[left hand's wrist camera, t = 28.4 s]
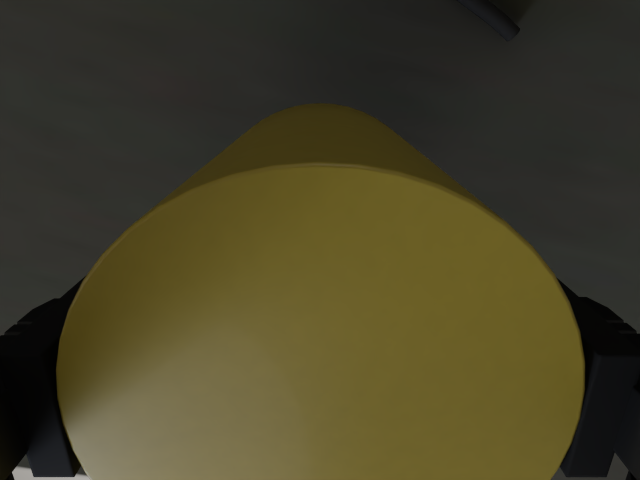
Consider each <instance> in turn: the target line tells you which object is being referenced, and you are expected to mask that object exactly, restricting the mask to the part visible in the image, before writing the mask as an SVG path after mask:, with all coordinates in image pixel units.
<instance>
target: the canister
mask: <svg viewBox="0 0 640 480" xmlns="http://www.w3.org/2000/svg"><path fill="white" fill-rule="evenodd" d="M56 379H57V398H58V403H59V408H60V412H61V417H62V422H63V426H64V428H65V431H66V433H67V436H68V439H69V441H70V444H71V447H72V449H73V451H74V453H75V455H76V457H77V458H78V460H79V462H80V464H81V466H82V467H83V469H84V471H85V473H86V474H87V476H88V477H89V478H90V480H551V478H552V477H553V476H554V474H555V473H556V471H557V470H558V468H559V467H560V465H561V463H562V461H563V459H564V457H565V455H566V453H567V451H568V449H569V447H570V445H571V443H572V440H573V437H574V434H575V431H576V428H577V425H578V423H579V420H580V416H581V410H582V404H583V398H584V392H585V359H584V353H583V347H582V341H581V335H580V330H579V327H578V324H577V321H576V319H575V316H574V313H573V310H572V307H571V304H570V301H569V300H568V298H567V296H566V294H565V292H564V291H563V289H562V287H561V285H560V283H559V282H558V280H557V278H556V276H555V274H554V273H553V271H552V270H551V269H550V268H549V266H548V265H547V264H546V263H545V261H544V260H543V259H542V258H541V256H540V255H539V254H538V252H537V251H536V250H535V249H534V247H533V246H532V245H531V244H530V243H528V242H527V241H526V240H525V239H524V238H523V237H522V236H521V235H520V234H519V233H518V232H517V231H515V230H514V229H513V228H512V227H511V226H510V225H509V224H508V223H507V222H506V221H504V220H503V219H502V218H501V217H499V216H498V215H497V214H496V213H494V212H493V211H492V210H491V209H489V208H488V207H487V206H486V205H484V204H483V203H482V202H481V201H479V200H478V199H477V198H476V197H475V196H473V195H472V194H471V193H470V192H468V191H467V190H466V189H465V188H463V187H462V186H461V185H460V184H458V183H457V182H456V181H455V180H453V179H452V178H451V177H450V176H448V175H447V174H446V173H445V172H443V171H442V170H441V169H440V168H439V167H437V166H436V165H435V164H434V163H432V162H431V161H430V160H429V159H427V158H426V157H425V156H424V155H422V154H421V153H420V152H419V151H417V150H416V149H415V148H414V147H412V146H411V145H410V144H409V143H407V142H406V141H405V140H404V139H403V138H401V137H400V136H399V135H398V134H396V133H395V132H394V131H393V130H391V129H390V128H389V127H388V126H386V125H385V124H383V123H382V122H380V121H379V120H377V119H376V118H374V117H372V116H370V115H368V114H366V113H364V112H362V111H359V110H356V109H353V108H350V107H347V106H341V105H336V104H323V103H315V104H304V105H299V106H295V107H290V108H287V109H284V110H282V111H279V112H276V113H274V114H272V115H270V116H269V117H267V118H265V119H263V120H261V121H260V122H259V123H257V124H256V125H255V126H253V127H252V128H251V129H249V130H248V131H247V132H246V133H244V134H243V135H242V136H241V137H239V138H238V139H237V140H236V141H235V142H233V143H232V144H231V145H230V146H228V147H227V148H226V149H225V150H223V151H222V152H221V153H220V154H219V155H217V156H216V157H215V158H214V159H212V160H211V161H210V162H209V163H207V164H206V165H205V166H204V167H203V168H201V169H200V170H199V171H198V172H196V173H195V174H194V175H193V176H192V177H190V178H189V179H188V180H187V181H185V182H184V183H183V184H182V185H180V186H179V187H178V188H177V189H176V190H174V191H173V192H172V193H171V194H169V195H168V196H167V197H166V198H164V199H163V200H162V201H161V202H160V203H158V204H157V205H156V206H155V207H153V208H152V209H151V210H150V211H148V212H147V213H146V214H145V215H144V216H142V217H141V218H140V219H139V220H137V221H136V222H135V223H134V224H132V225H131V226H130V227H129V228H128V229H127V230H126V231H125V232H124V233H123V234H122V235H121V236H120V237H119V238H118V239H117V240H116V241H115V242H114V243H113V244H112V245H111V246H110V247H109V248H108V249H107V250H106V251H105V252H104V253H103V254H102V255H101V256H100V258H99V259H98V260H97V262H96V263H95V265H94V266H93V267H92V269H91V270H90V272H89V273H88V274H87V276H86V277H85V279H84V280H83V281H82V283H81V285H80V288H79V290H78V292H77V294H76V296H75V298H74V300H73V302H72V304H71V306H70V308H69V310H68V313H67V317H66V320H65V323H64V327H63V330H62V333H61V337H60V341H59V349H58V357H57V366H56Z"/></svg>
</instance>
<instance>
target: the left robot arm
mask: <svg viewBox="0 0 640 480" xmlns="http://www.w3.org/2000/svg"><path fill="white" fill-rule="evenodd" d="M457 1H458V2H460V3H461V4H462V5H464V6H465V7H466V8H468V9H469V10H470V11H472V12H473V13H475V14H476V15H477V16H479V17H480V18H481V19H483V20H484V21H485V22H486V23H488V24H489V25H490V26H491V27H492V28H494V29H495V30H496V31H497V32H498V33H499V34H500V35H501V36H502V37H503V38H504V39H505V40H506V41H510V40H511V39H512V38H514V37H515V36H516V35H517V33H518V32H519V31H520V28H519V27H518V26H517V25H516V24H515V23H514V22H513V21H512V20H511V19H510V18H509V17H508V16H506V15H505V14H504V13H503V12H502V11H501V10H499V9H498V8H497V7H496V6H494V5H493V4H492V3H491V2H489V1H488V0H457ZM86 276H87V275H86ZM86 276H85V277H86ZM85 277H84V278H83V279H82V280H81V281H79V282H78V283H77V284H76V285H75V286H74V287H72V288H71V289H70V290H69V291H68V292H67V293H66V294H64V295H63V296H62V297H61V298H60V299H52V300H50V301H48V302H46V303H44V304H42V305H40V306H38V307H36V308H34V309H32V310H31V311H30V312H29V313H28V314H26V315H25V316H24V317H23V318H22V319H20V320H19V321H18V322H17V325H13V326H12V327H11V328H9V329H8V330H7V331H6V332H5V334H4V335H1V336H0V480H14V477H13V474H12V471H13V470H14V469H15V467H16V466H17V465H18V463H19V462H20V461H21V460H22V458H23V457H24V456H25V454H26V455H27V458H28V461H29V464H30V467H31V470H32V473H33V476H34V477H74V476H75V475H76V473H77V472H78V470H79V468H80V467H81V464H80V462H79V460H78V458H77V457H76V455H75V453H74V451H73V449H72V447H71V444H70V441H69V439H68V436H67V433H66V431H65V428H64V426H63V422H62V417H61V412H60V408H59V403H58V398H57V379H56V366H57V357H58V349H59V341H60V337H61V333H62V330H63V327H64V323H65V320H66V317H67V313H68V310H69V308H70V306H71V304H72V302H73V300H74V298H75V296H76V294H77V292H78V290H79V288H80V285H81V283H82V281H83V280H84V279H85ZM557 280H558V282H559V283H560V285H561V287H562V289H563V291H564V292H565V294H566V296H567V298H568V300H569V301H570V304H571V307H572V310H573V313H574V316H575V319H576V321H577V324H578V327H579V330H580V335H581V341H582V347H583V353H584V359H585V392H584V398H583V404H582V410H581V416H580V420H579V423H578V425H577V428H576V431H575V434H574V437H573V440H572V443H571V445H570V447H569V449H568V451H567V453H566V455H565V457H564V459H563V461H562V463H561V465H560V468H561V469H562V471H563V473H564V474H565V476H566V477H607V474H608V471H609V468H610V465H611V462H612V459H613V456H614V453H616V454H617V455H618V457H619V458H620V459H621V461H622V462H623V463H624V465H625V466H626V467H627V468H628V470H629V471H628V474H627V477H626V480H640V334H637V333H636V330H635V329H633V328H632V327H631V326H630V325H628V324H627V323H624V322H623V320H622V319H621V318H620V317H619V316H617V315H616V314H615V313H614V312H613V311H611V310H610V309H609V308H607V307H605V306H603V305H601V304H599V303H597V302H595V301H593V300H591V299H589V298H587V297H578V296H577V295H576V294H575V293H574V292H572V291H571V290H570V289H569V288H568V287H567V286H566V285H564V284H563V283H562V282H561V281H560V280H559V279H557Z"/></svg>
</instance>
